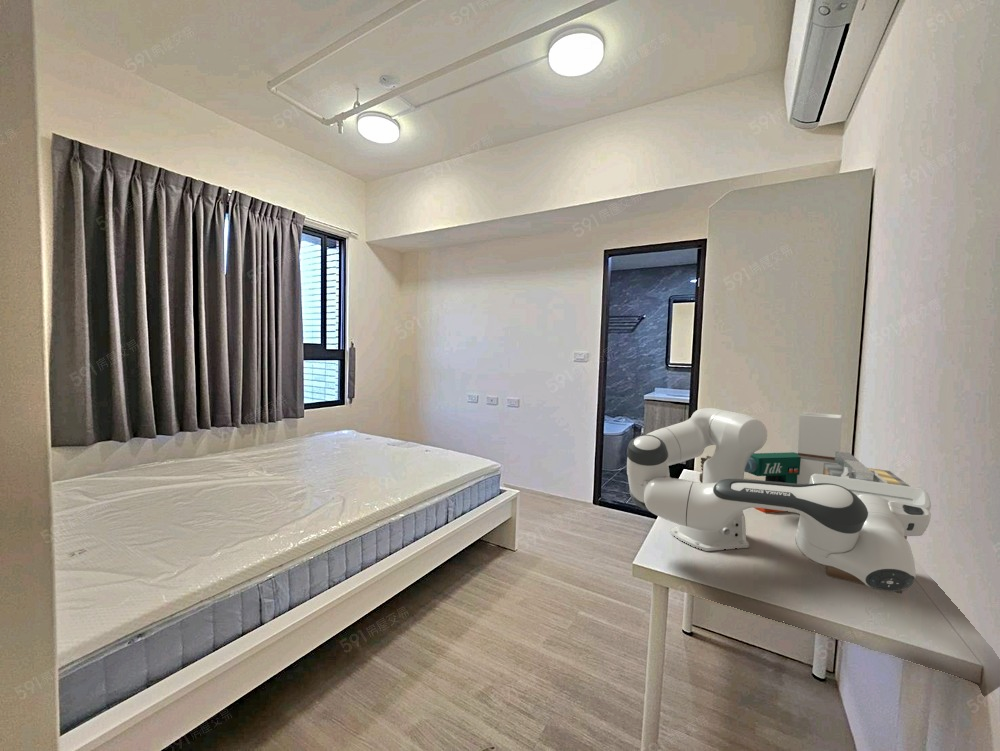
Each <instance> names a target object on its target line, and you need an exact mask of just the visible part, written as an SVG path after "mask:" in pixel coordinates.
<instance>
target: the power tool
mask: <svg viewBox="0 0 1000 751" xmlns="http://www.w3.org/2000/svg"><path fill="white" fill-rule="evenodd" d="M800 461H801V457H798V452H793V451H791V452H763V453H762V452H761V453H759V452H758V453H757V452H754V453H753V454H752V455H751V457H750V458H749V460H748V462H747V464H746V467H745V471H744V473H748V474H751V475H754V476H756V477H765V478H764V481H772V482H783V483H795V484H797V475H799V474H800ZM754 509H755V510H757V511H760V512H761V513H763V514H767V513H769V514H770V513H771V512H772V513H784V511H780V510H772V509H764V508H754Z"/></svg>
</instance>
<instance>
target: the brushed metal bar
mask: <svg viewBox="0 0 1000 751" xmlns="http://www.w3.org/2000/svg"><path fill="white" fill-rule="evenodd" d="M835 461H836V462H837V463H838V464H839V465H840V466H841V467H842V468H843V469H844V467H849V468H853V472H854V473H853V476H852V479H859V480H866V481H873V473H872V472H871V471H870V470H869V469H868V468H869V467H867V466H865V465H864V464H863V463H862V462H861V461H860V460H859V459H857V458H856V457H855V456H854V455H853V454H851V453H850V452H846V451H845V452H844V451H840V452H838V451H835Z"/></svg>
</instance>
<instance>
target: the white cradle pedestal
mask: <svg viewBox="0 0 1000 751" xmlns="http://www.w3.org/2000/svg"><path fill="white" fill-rule="evenodd" d="M798 416H799V417H798V419H799V420H798V444H797V449H798V450H797V453H798V457H801V461H800V474H799V475H797V484H809V481H810V477H811V475H813V474H823V468H824V463H832V464H838V463H837V462H836V461H835V451H838V452H841V445H842V443H841V440H842V417H843V415H842V414H832V413H831V414H830V413H818V412H817V413H816V412H805V411H803V412H802V414H799V415H798Z"/></svg>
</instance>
